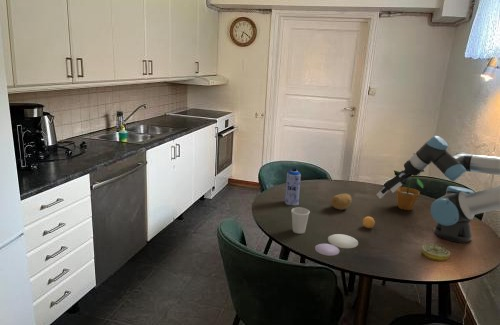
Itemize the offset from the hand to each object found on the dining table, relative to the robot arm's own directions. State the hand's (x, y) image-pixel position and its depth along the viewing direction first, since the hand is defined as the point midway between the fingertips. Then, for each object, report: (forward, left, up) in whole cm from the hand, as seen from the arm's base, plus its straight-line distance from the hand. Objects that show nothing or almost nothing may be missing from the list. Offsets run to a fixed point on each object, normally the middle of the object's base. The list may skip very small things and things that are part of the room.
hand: (385, 193), depth 180 cm
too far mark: (+1, +45, -15) cm, 47 cm away
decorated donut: (-31, +14, -16) cm, 37 cm away
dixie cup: (+20, +40, -15) cm, 47 cm away
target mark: (+1, +33, -15) cm, 36 cm away
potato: (+23, 0, -15) cm, 28 cm away
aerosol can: (+45, +15, -15) cm, 50 cm away
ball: (+1, +11, -12) cm, 16 cm away
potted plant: (+1, -30, -15) cm, 34 cm away
